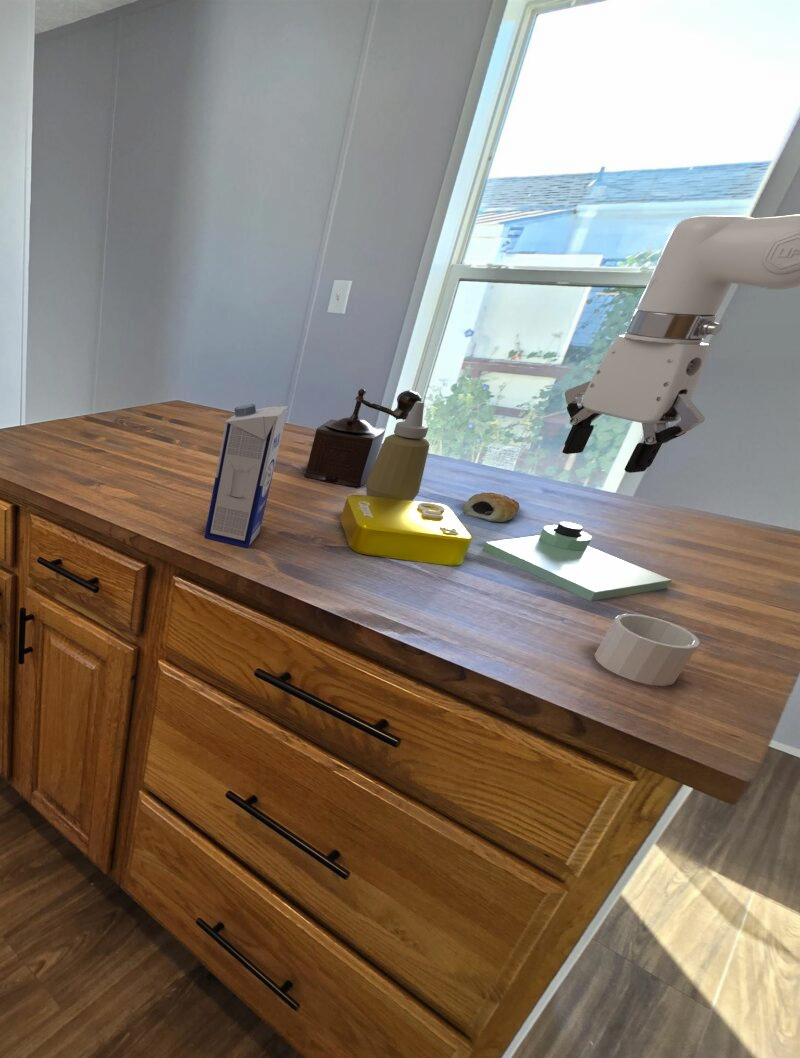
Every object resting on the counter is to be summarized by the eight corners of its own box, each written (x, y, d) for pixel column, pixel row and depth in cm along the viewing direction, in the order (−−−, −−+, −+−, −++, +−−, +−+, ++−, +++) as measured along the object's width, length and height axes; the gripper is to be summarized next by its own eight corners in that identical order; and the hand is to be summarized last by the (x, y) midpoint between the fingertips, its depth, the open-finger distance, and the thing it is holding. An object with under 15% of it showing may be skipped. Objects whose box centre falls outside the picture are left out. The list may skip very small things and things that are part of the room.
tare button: (582, 537, 97) (587, 528, 96) (568, 539, 96) (573, 529, 95) (564, 530, 99) (568, 520, 98) (550, 532, 98) (554, 522, 98)
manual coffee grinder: (301, 477, 127) (325, 381, 118) (317, 464, 134) (341, 372, 125) (389, 496, 118) (422, 394, 109) (401, 480, 126) (433, 384, 117)
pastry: (485, 503, 116) (494, 482, 114) (527, 516, 111) (537, 495, 109) (457, 513, 112) (465, 491, 110) (499, 527, 107) (509, 505, 105)
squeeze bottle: (407, 520, 108) (445, 411, 99) (354, 508, 113) (387, 402, 104) (415, 506, 114) (452, 401, 105) (365, 495, 118) (396, 394, 109)
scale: (668, 588, 89) (680, 569, 87) (590, 601, 85) (601, 581, 84) (553, 540, 102) (562, 523, 101) (481, 550, 99) (489, 532, 97)
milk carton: (248, 548, 98) (278, 414, 88) (203, 538, 101) (227, 407, 91) (259, 533, 103) (289, 404, 93) (217, 523, 106) (241, 397, 96)
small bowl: (687, 685, 69) (716, 642, 67) (641, 695, 68) (669, 652, 65) (620, 651, 75) (644, 610, 72) (576, 659, 73) (599, 618, 71)
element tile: (338, 517, 109) (346, 489, 107) (439, 529, 105) (449, 501, 103) (350, 553, 97) (360, 523, 94) (465, 569, 93) (478, 538, 91)
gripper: (772, 337, 77) (691, 480, 86) (616, 319, 91) (560, 442, 100) (728, 338, 75) (650, 484, 84) (576, 320, 90) (523, 446, 98)
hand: (602, 461), depth 92 cm, fingers open, 7 cm apart
